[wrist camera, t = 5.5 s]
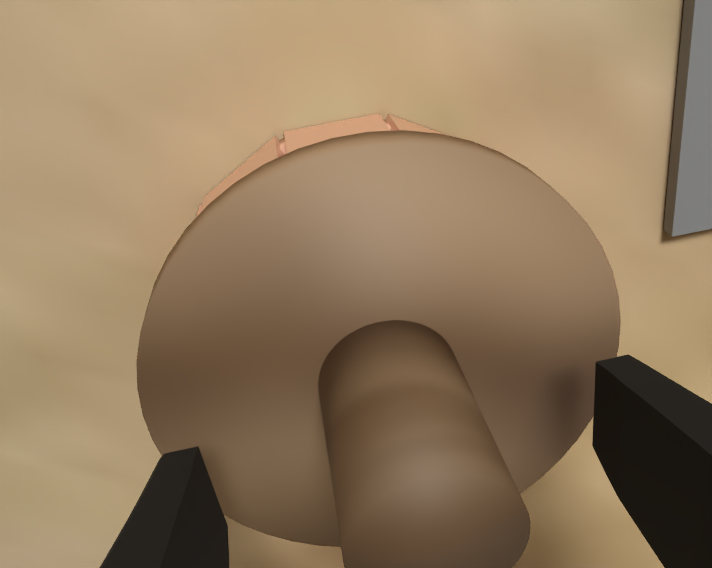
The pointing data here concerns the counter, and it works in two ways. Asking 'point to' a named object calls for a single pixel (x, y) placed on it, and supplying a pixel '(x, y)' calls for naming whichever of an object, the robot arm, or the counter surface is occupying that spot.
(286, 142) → the bowl
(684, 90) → the mat
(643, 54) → the counter surface
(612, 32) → the counter surface
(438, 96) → the counter surface
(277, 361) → the lid
